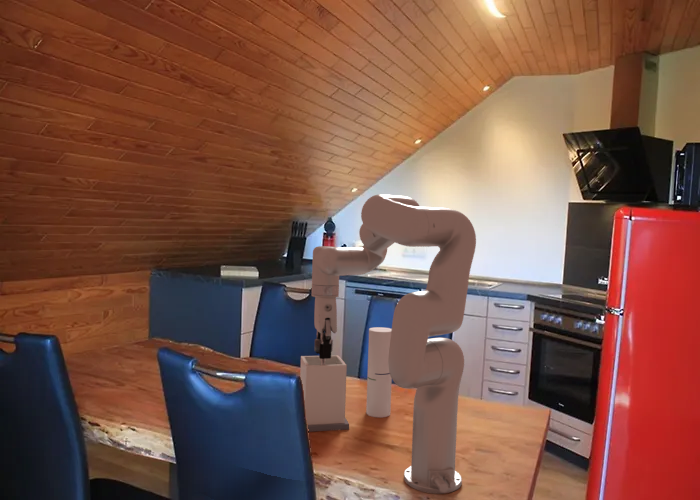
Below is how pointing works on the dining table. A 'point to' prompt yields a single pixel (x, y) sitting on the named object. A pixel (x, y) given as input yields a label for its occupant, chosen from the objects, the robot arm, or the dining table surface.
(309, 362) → the press carafe
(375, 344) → the cylindrical container
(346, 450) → the dining table surface
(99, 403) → the dining table surface
